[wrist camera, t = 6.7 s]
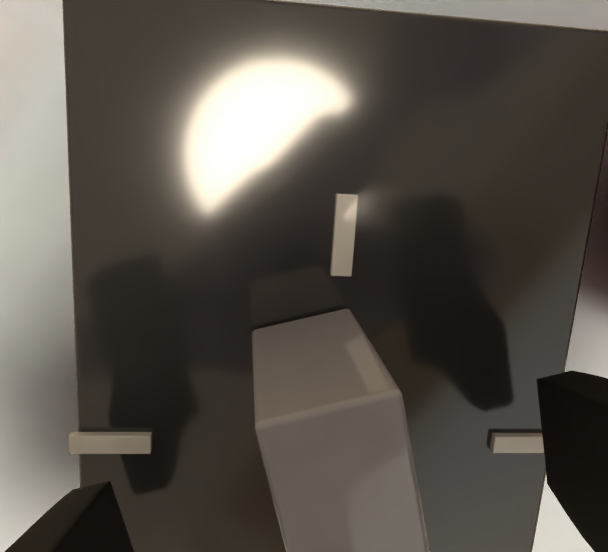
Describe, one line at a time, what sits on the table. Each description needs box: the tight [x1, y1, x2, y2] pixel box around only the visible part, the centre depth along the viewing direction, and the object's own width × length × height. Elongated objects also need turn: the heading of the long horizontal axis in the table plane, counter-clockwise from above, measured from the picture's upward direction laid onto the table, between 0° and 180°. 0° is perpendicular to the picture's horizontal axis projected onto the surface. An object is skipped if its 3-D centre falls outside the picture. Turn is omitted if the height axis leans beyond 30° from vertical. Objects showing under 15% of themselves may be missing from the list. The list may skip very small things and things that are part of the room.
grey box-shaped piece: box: [251, 309, 430, 552], centre depth 9 cm, size 5×2×4 cm, turn 12°
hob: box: [62, 0, 608, 552], centre depth 11 cm, size 12×9×3 cm
